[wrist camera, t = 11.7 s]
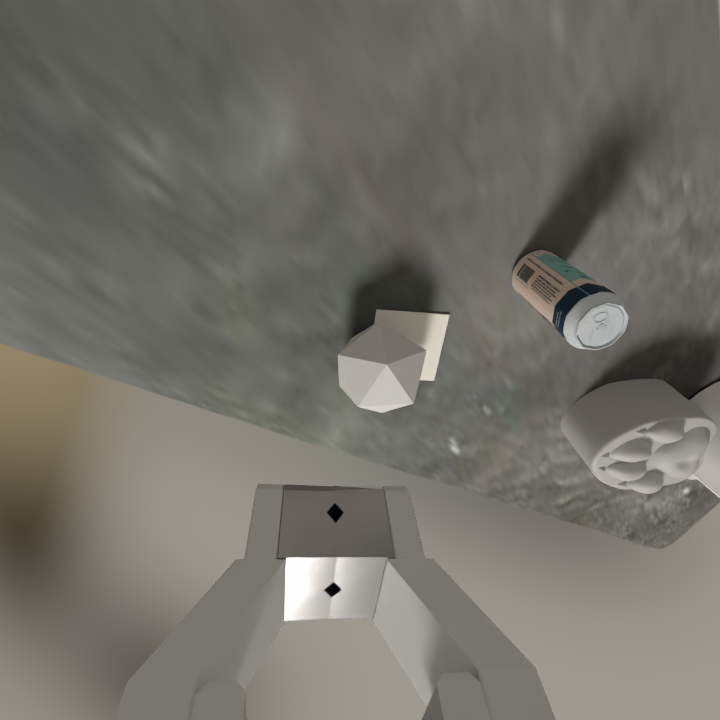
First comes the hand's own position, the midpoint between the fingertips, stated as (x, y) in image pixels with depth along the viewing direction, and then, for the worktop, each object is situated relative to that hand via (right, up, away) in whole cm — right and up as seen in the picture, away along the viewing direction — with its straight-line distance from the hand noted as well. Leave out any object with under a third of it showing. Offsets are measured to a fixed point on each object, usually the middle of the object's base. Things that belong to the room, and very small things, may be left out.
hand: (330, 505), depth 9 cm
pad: (+5, +4, +37) cm, 37 cm away
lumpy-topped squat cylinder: (+32, -4, +44) cm, 54 cm away
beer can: (+18, +12, +34) cm, 40 cm away
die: (-1, +3, +33) cm, 34 cm away
